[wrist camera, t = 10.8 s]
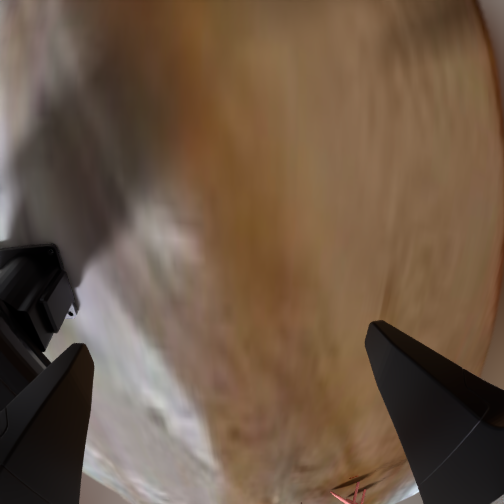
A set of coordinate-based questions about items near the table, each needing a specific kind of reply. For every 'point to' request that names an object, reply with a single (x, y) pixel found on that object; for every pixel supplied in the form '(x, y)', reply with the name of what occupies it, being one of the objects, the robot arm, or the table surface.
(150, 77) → the table surface
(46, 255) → the robot arm
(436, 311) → the table surface
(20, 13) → the table surface
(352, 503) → the figurine
